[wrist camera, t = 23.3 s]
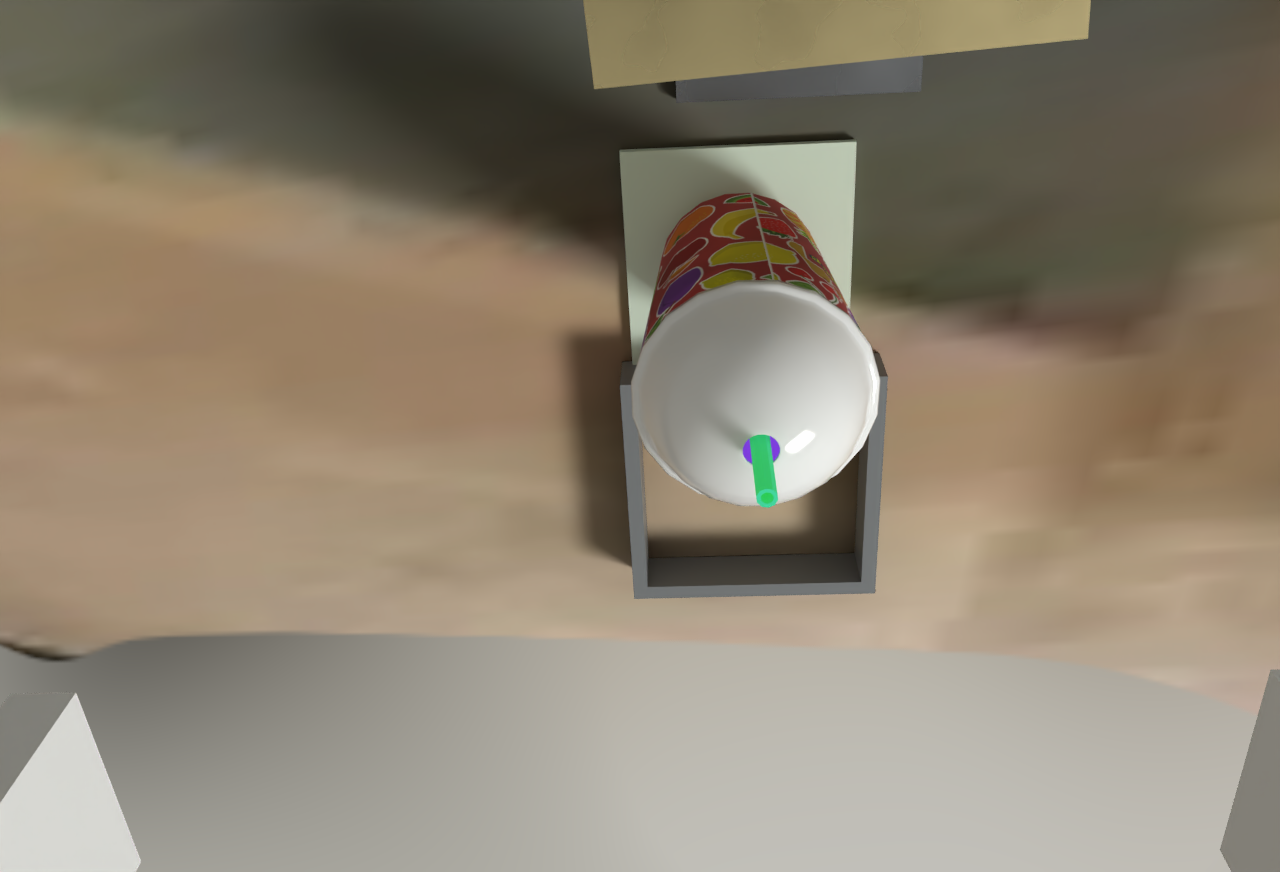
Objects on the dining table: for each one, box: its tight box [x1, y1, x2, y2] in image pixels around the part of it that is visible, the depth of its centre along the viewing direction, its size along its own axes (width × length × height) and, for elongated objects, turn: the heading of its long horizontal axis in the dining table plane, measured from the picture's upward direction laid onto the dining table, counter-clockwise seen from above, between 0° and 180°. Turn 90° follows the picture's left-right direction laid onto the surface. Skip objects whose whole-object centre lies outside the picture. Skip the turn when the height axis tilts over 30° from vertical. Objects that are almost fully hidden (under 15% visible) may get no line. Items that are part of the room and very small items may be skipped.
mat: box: [619, 139, 857, 365], centre depth 50 cm, size 10×10×1 cm
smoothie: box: [631, 193, 880, 508], centre depth 41 cm, size 8×8×20 cm
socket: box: [620, 353, 888, 599], centre depth 55 cm, size 12×12×2 cm
